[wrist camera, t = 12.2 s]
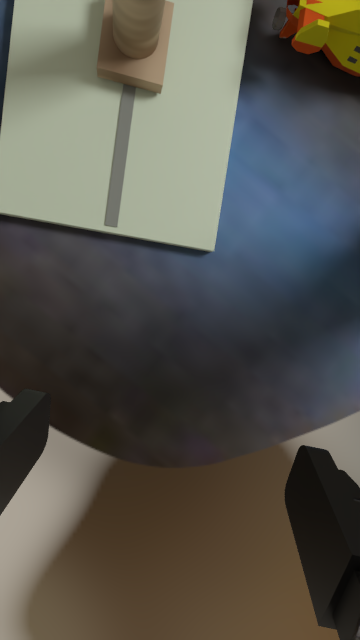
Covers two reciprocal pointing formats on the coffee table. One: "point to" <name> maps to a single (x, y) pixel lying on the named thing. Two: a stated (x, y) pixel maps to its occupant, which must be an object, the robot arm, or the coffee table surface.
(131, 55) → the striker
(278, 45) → the coffee table surface
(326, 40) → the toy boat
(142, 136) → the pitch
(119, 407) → the coffee table surface
